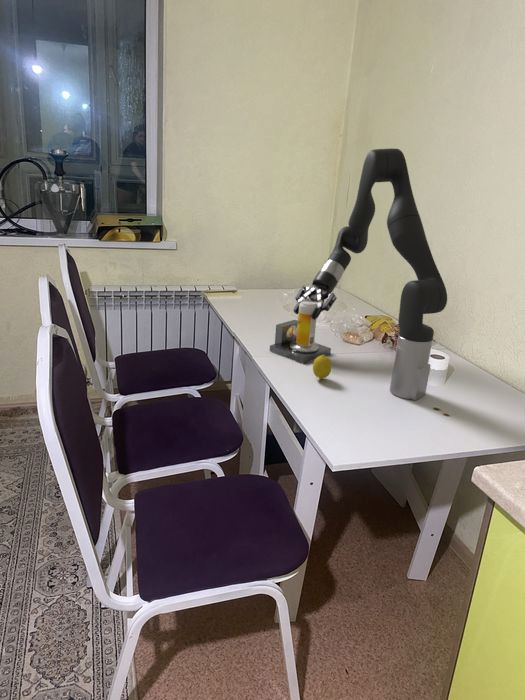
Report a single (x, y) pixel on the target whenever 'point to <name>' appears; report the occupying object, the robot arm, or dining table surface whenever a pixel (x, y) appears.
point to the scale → (288, 334)
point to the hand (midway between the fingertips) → (304, 315)
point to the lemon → (322, 366)
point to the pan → (297, 348)
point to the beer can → (306, 324)
